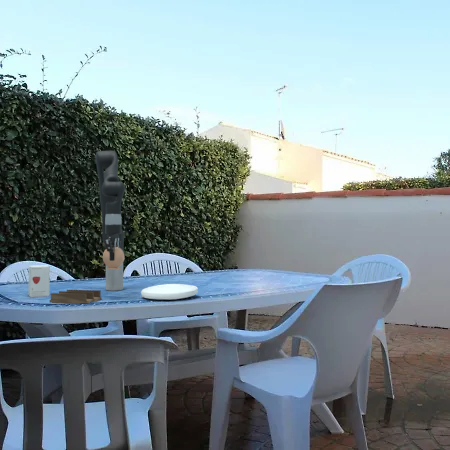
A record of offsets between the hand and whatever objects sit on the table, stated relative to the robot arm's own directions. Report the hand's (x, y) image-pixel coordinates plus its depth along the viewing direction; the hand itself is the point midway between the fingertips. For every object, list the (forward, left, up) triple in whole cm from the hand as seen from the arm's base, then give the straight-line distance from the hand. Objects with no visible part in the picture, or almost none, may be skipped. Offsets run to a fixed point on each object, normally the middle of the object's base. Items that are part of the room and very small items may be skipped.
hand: (113, 260), depth 228 cm
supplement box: (-2, -41, -18) cm, 45 cm away
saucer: (0, 0, -4) cm, 4 cm away
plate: (-9, +25, -19) cm, 32 cm away
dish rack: (+11, -13, -18) cm, 25 cm away
